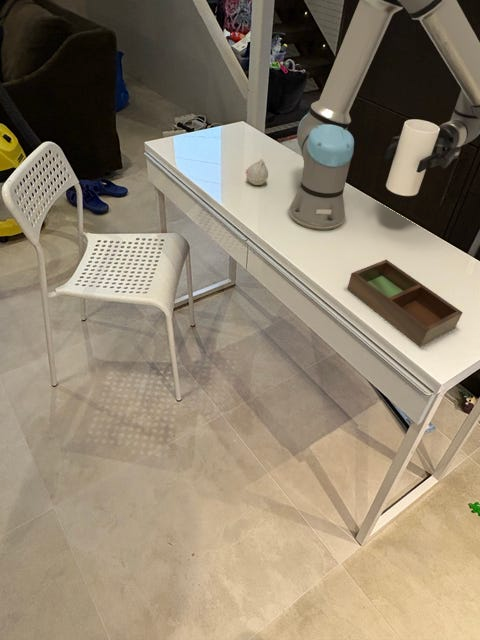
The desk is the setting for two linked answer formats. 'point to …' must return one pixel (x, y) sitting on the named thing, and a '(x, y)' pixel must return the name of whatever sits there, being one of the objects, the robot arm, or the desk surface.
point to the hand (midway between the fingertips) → (403, 160)
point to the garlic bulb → (257, 173)
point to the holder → (404, 302)
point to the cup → (411, 156)
